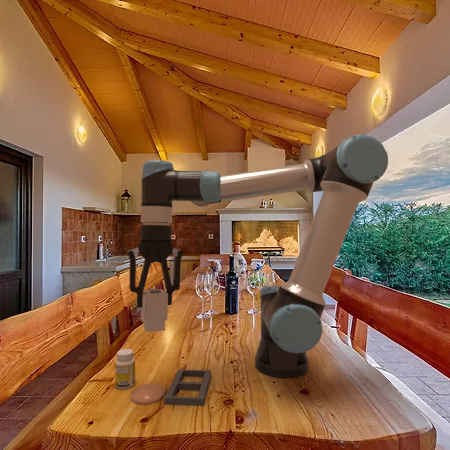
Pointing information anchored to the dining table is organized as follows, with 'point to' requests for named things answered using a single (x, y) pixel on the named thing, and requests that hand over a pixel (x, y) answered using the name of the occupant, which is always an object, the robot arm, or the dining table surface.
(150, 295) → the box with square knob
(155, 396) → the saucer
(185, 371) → the grey double frame
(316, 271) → the robot arm
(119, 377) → the supplement bottle
